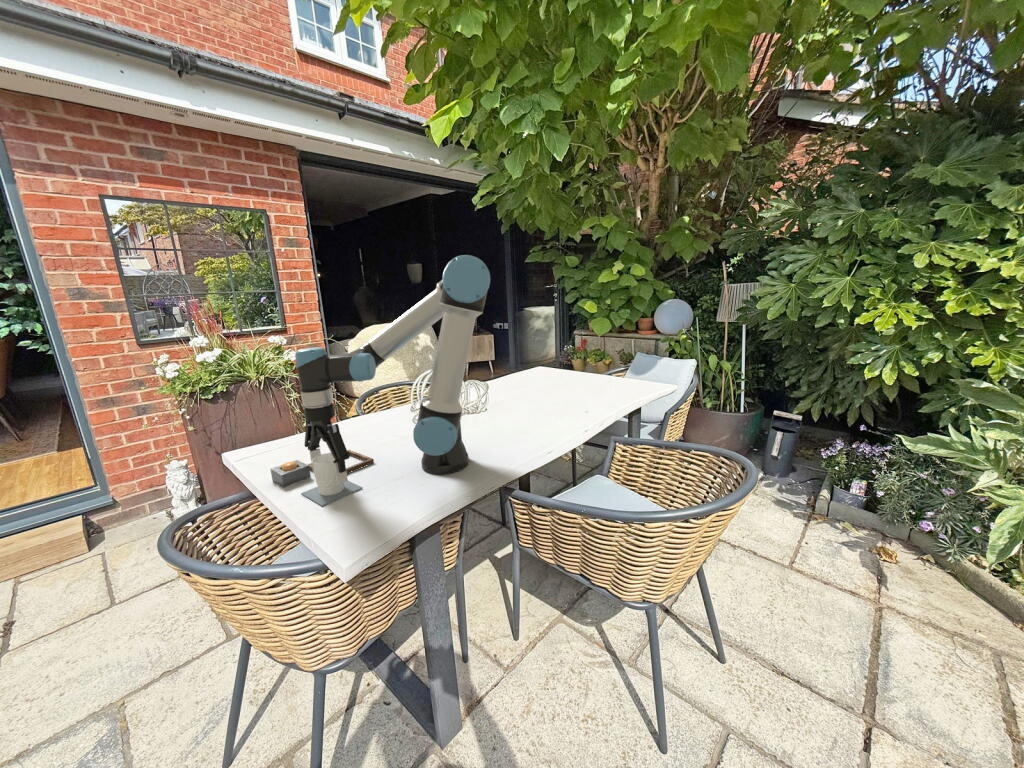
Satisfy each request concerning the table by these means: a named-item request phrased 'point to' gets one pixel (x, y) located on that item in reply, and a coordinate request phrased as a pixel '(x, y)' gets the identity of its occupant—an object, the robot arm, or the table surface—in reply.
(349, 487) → the mat
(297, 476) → the housing
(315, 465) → the white cup
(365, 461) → the collar
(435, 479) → the table surface
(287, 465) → the orange rounded block
